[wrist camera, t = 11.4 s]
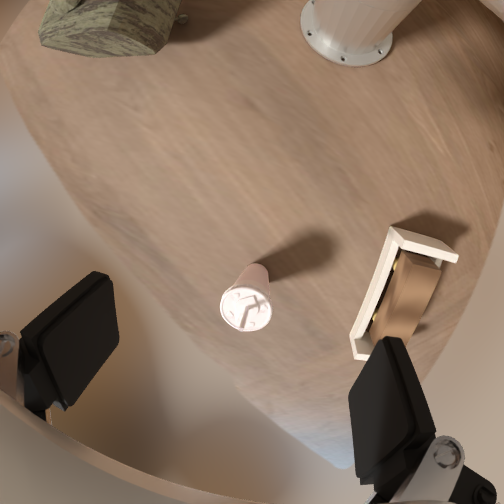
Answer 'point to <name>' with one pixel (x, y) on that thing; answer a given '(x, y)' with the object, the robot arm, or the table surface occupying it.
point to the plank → (405, 297)
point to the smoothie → (248, 300)
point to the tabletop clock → (109, 26)
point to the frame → (387, 259)
